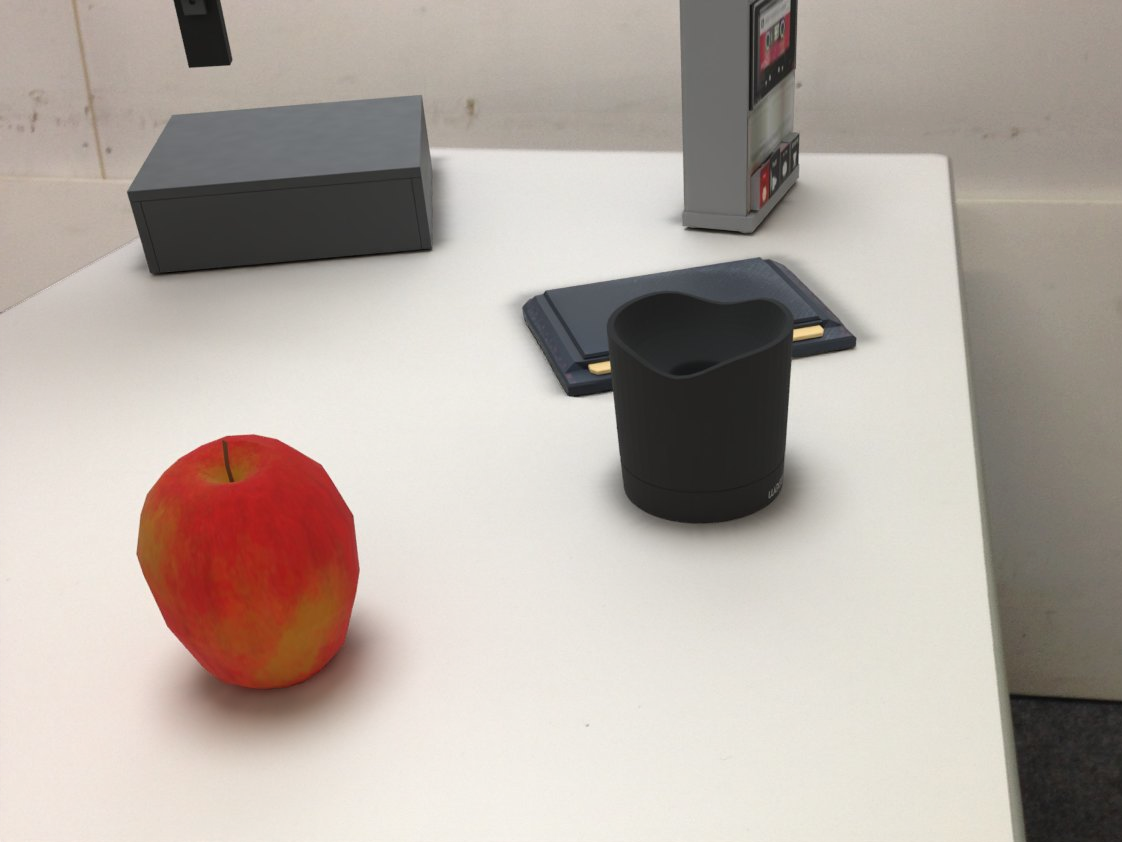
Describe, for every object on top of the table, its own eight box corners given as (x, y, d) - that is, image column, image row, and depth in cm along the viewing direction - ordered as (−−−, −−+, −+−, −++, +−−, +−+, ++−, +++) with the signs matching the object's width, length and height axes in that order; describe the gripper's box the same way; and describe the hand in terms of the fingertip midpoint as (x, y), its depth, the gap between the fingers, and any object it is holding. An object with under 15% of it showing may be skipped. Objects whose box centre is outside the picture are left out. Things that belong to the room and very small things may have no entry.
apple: (205, 618, 63) (136, 396, 56) (389, 603, 63) (343, 381, 56) (163, 744, 56) (77, 507, 48) (371, 727, 56) (316, 489, 49)
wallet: (782, 244, 94) (862, 324, 82) (782, 269, 95) (860, 351, 84) (515, 282, 91) (558, 371, 79) (518, 307, 92) (561, 399, 80)
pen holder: (678, 559, 65) (673, 380, 59) (586, 484, 72) (572, 315, 66) (824, 502, 69) (832, 328, 63) (723, 435, 76) (722, 271, 69)
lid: (150, 273, 100) (126, 191, 96) (190, 187, 117) (171, 114, 113) (432, 248, 102) (420, 166, 98) (432, 167, 118) (421, 94, 115)
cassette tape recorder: (755, 236, 101) (759, -130, 86) (682, 229, 103) (674, -130, 88) (801, 180, 111) (812, -156, 96) (734, 175, 113) (735, -155, 98)
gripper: (163, -391, 67) (257, 85, 81) (198, -384, 77) (276, 38, 92) (14, -387, 66) (136, 93, 81) (69, -381, 76) (169, 44, 91)
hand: (210, 63), depth 86 cm, fingers closed
